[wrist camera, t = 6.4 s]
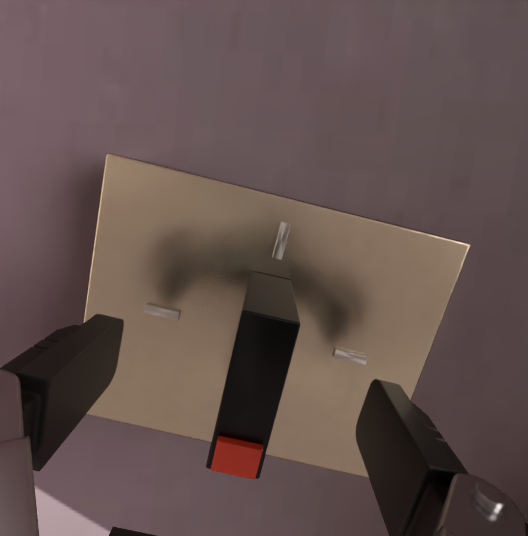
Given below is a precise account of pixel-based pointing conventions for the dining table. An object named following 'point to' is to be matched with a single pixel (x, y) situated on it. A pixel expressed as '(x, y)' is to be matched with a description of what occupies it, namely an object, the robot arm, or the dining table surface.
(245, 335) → the red-tipped black block
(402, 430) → the robot arm
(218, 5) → the dining table surface
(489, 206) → the dining table surface
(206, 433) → the lever switch base
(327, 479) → the dining table surface
